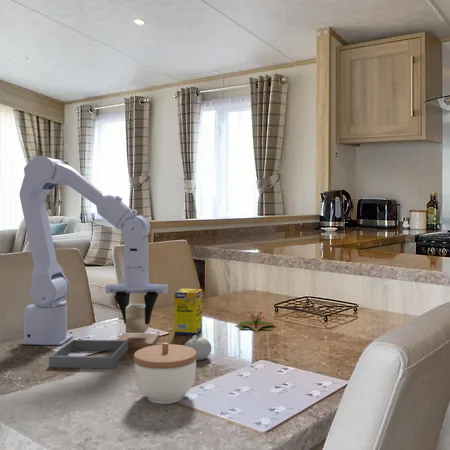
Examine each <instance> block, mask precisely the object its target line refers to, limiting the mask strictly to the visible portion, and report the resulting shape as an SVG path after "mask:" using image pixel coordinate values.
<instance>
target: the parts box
mask: <svg viewBox="0 0 450 450" xmlns="http://www.w3.org/2000/svg"><path fill="white" fill-rule="evenodd" d="M148 330H149V324H145V303H129V305H128V306H127V307H126V324H125V333H146V332H147V331H148Z"/></svg>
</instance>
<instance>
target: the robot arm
mask: <svg viewBox="0 0 450 450" xmlns="http://www.w3.org/2000/svg"><path fill="white" fill-rule="evenodd" d="M23 172H24V176H23V179H22V182H21V187H20V190H19V200H20V204H21V208H22V209H21V210H22V214H23V215H22V216H23V219H24V224H25V228H26V235H27V238H28V242H29V247H30V253H31V258H32V262H33V266H34V267H33V270H32V273H31V275H30V279H31V281H30V282H31V284H30V285H31V286H30V290H29V294H30V298H31V300H32V301H33V303H34V304H27V306H26V307H25V309H24V313H23V341H22V345H34V346H35V345H42V346H43V345H45V346H48V345H49V346H50V345H51V346H55V345H56V346H61V345H63V344H64V343H66V342H67V341H70V339H71V338H74V337H73V336H74V335H73V334H68V320H67V319H68V318H67V317H68V314H67V313H68V312H67V311H68V310H67V300H66V297H67V296H68V294H69V293H70V289H71V285H70V284H71V283H70V281H69V279H68V278H67V277H66V276H65V273H64V269H63V267H62V266H61V265H60V263H58V259H57V255H56V248H55V246H54V239H53V235H52V234H53V233H52V231H51V230H52V229H51V225H50V220H49V215H48V210H47V206H46V201H45V199H46V198H47V197H48V195H49V194H50V192H51V191H52V190H53V189H54V188H56V187H57V186H59V185H62V186H68V187H70V188H72V189H73V190H75V191H76V192H77V193H78V194H80V195H81V196H83V198H85V199H87V200H88V201H89V202H91V203H92V204H94V205H95V206H96V211H97V215H99V216H100V217H102V218H103V219H104V220H105V221H106V222H108V223H109V224H111V225H112V226H113V227H114V228H115V229H117V230H120V234H121V236H122V237H123V239H124V247H123V255H124V256H123V258H124V260H123V261H124V262H123V263H124V266H123V267H124V271H123V272H124V283H108V284H106V285H105V294H115V296H114V299H115V302H116V303H117V305H118V307H119V309H120V312H121V314H122V319H123V323H124V325H126V307H127V306H128V305H129V304H130V296H131V294H144V297H143V299H144V300H143V301H144V304H145V324H148V325H150V323H151V317H152V312H153V309H154V306H155V305H156V301H157V299H158V297H159V294H162V295H167V294H168V293H169V289H168V288H169V287H168V286H169V285H168V284H159V283H150V280H149V279H150V271H149V270H150V269H149V267H150V265H149V263H150V262H149V261H150V260H149V252H150V250H149V236H148V235H149V234H150V232H151V224H150V221H149V220H148V219H147V218H146V217H145V216H144V215H141V214H138V210H137V209H132V208H131V207H129V206H128V205H127V204H125V203H124V202H123V198H122V197H121V196H119V195H114V194H107V195H106V194H104V193H103V192H102V191H101V190H100V189H99V188H98V187H96V186H95V185H94V184H92V183H91V182H90V181H89V180H88V179H87V178H86V177H84V176H83V175H82V173H80V172H79V171H77V170H76V169H75V168H73V167H72V166H70V165H68V164H66V163H65V162H64V161H63V160H61V159H60V158H59V159H58V158H53V157H52V158H51V157H47V156H45V155H37V156H34V157H33V158H31V160H29V162H28V163H27V164H26V165H25V166H24V167H23Z"/></svg>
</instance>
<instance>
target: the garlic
mask: <svg viewBox="0 0 450 450" xmlns="http://www.w3.org/2000/svg"><path fill="white" fill-rule="evenodd" d="M183 346H187V347H191V348H193V349H195V351H196V352H197V359H196V361H202V360H205V359H207V358H208V357H209V356H210V355H211V353H212V345H211V343H210V341H209V340H208V339H207V338H204V337H199V336H198V334H197V335H195V336H192V337H191V339H188V341H187V342H185V343H184V344H183Z"/></svg>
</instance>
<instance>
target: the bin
mask: <svg viewBox="0 0 450 450" xmlns="http://www.w3.org/2000/svg"><path fill="white" fill-rule="evenodd" d="M73 351H108V352H109V351H113V353H112V354H110V356H95V355H93V356H91V355H90V356H89V355H88V356H86V355H85V356H84V355H80V356H79V355H69V354H71V353H72V352H73ZM128 351H129V348H128V340H117V339H116V340H115V339H71V340H68V342H67V343H66V344H64V345H63V346H61V347H60V348H59V349H57V350H56V351H55V352H53V353H51V355H49V356H48V367H49V368H63V369H64V368H68V369H69V368H71V369H73V368H76V369H113V368H114V367H115V365H117V364H118V362H119V361H120V360H121V359H122V358H123V357H124V356H125V354H126V353H127V352H128Z"/></svg>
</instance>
